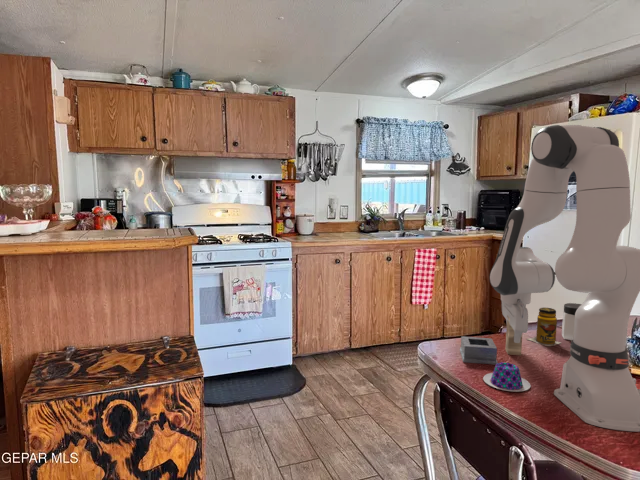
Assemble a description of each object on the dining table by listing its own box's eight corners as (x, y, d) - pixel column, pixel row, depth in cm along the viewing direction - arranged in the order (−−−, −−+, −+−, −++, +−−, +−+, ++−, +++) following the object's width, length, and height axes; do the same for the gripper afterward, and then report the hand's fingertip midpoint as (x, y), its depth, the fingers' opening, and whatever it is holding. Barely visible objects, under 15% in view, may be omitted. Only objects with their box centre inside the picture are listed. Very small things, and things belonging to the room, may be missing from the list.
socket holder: (497, 364, 131) (498, 348, 130) (463, 362, 133) (463, 346, 133) (491, 353, 141) (492, 338, 140) (459, 350, 143) (460, 335, 142)
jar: (571, 342, 151) (573, 309, 149) (555, 335, 159) (557, 303, 157) (594, 341, 152) (597, 308, 151) (577, 334, 160) (580, 302, 159)
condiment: (548, 347, 147) (550, 312, 145) (526, 339, 154) (528, 306, 153) (561, 343, 150) (563, 310, 149) (539, 336, 157) (541, 304, 156)
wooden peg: (521, 355, 139) (523, 319, 138) (507, 354, 140) (509, 318, 138) (518, 350, 143) (520, 315, 141) (505, 350, 144) (507, 314, 142)
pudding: (533, 397, 111) (535, 377, 110) (484, 390, 115) (485, 371, 114) (527, 378, 122) (528, 360, 122) (482, 372, 126) (482, 355, 125)
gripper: (535, 304, 128) (532, 349, 130) (518, 289, 148) (516, 328, 150) (512, 303, 130) (509, 347, 131) (499, 288, 150) (497, 327, 151)
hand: (513, 337), depth 141 cm, fingers open, 8 cm apart
